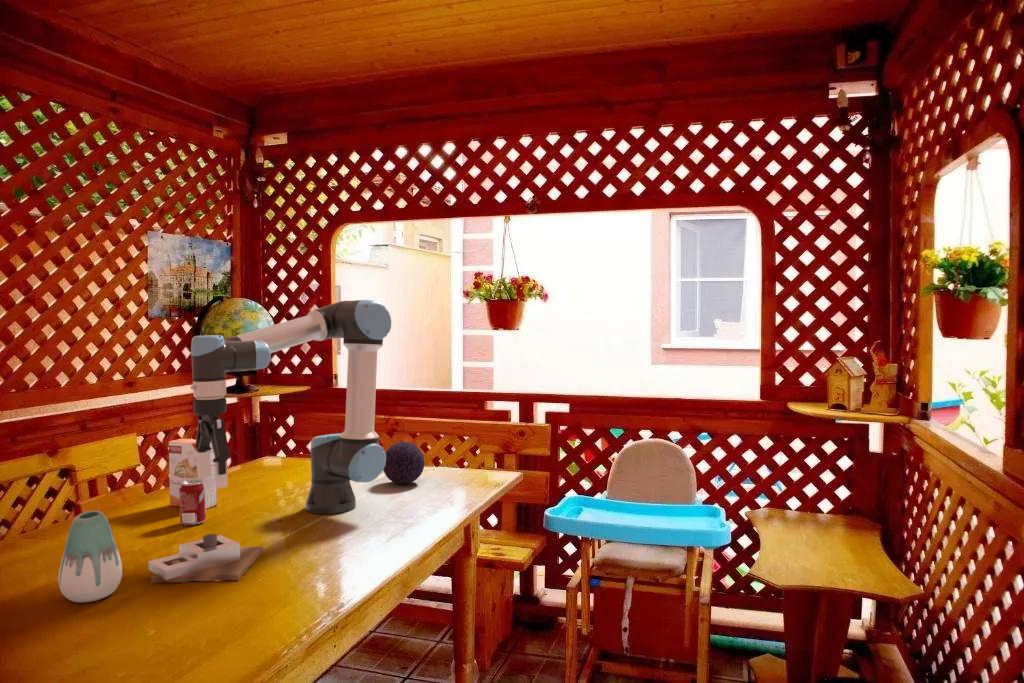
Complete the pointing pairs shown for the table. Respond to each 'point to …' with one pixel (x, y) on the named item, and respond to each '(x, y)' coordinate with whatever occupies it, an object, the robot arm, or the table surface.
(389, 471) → the toy ball
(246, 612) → the table surface
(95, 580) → the vase
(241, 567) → the post base
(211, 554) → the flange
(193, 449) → the cracker box
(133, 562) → the table surface
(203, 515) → the soda can
